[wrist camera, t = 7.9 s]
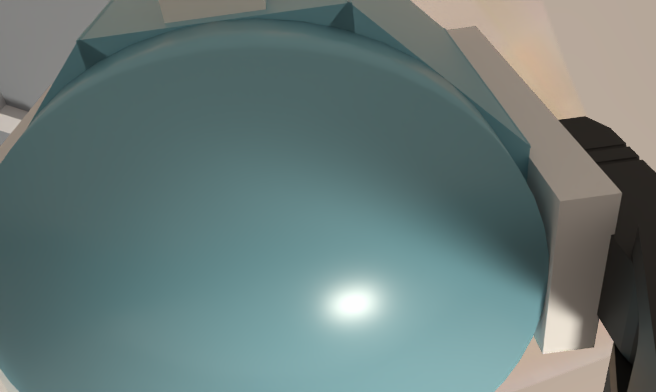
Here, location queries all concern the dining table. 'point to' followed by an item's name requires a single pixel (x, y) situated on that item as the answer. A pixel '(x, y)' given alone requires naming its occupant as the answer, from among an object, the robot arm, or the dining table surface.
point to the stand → (36, 50)
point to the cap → (268, 208)
